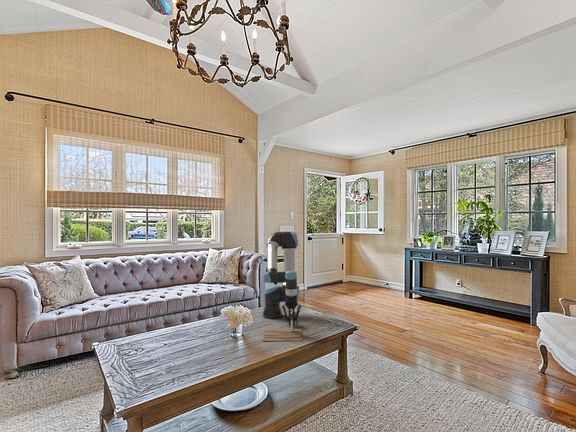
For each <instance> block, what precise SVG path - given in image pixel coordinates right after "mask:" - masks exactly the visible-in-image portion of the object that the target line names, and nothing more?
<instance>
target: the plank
mask: <svg viewBox="0 0 576 432" xmlns="http://www.w3.org/2000/svg"><path fill="white" fill-rule="evenodd" d="M276 335H302V329H301V328H293V331H291V328H290V329H289V328H287V329H264V332H263V337H264V336H276Z"/></svg>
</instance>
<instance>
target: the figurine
mask: <svg viewBox="0 0 576 432" xmlns="http://www.w3.org/2000/svg"><path fill="white" fill-rule="evenodd" d="M287 312H288V313H287V317H288V318H289V309H288V310H287ZM296 313H297V311H296V312H295V311H294V314H295V317H296ZM299 313H301V310H299ZM299 319H300V316H299V314H298V319H297V320H295V325H294V326H293V329H301V327H302V326H303V324H302V323H300V322H299ZM291 320H293V310H292V309H291ZM286 322H287V323H286V327H287V328H288V329H289V328H290V329H291V326H289V321H288V320H286Z"/></svg>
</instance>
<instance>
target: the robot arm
mask: <svg viewBox="0 0 576 432" xmlns="http://www.w3.org/2000/svg"><path fill="white" fill-rule="evenodd" d="M265 247H266V250H267V253H266V271H264V272H263V282H264V283H265V284H269V285H266V287H264V306H263V307H264V308H263V310H262V317H263V318H265V319H271V320H272V319H279V318H281V317H282V316H283V313H284V318H285V320H286V321H287V320H288V321H289V322H288V321H287V322H288V323H289V326H291V328H290V329H291V331H293V329H294V328H293V326H294V325H295V320H297V321H298V320H299V319H298V315H299V314H300V312H299V310H300V309H301V308H302V305H301V304H299V302H298V300H299V296H300V295H299V294H300V286H299V285H298V283H297V281H298V278H297V277H298V275H297V271H296V254H295V251H296V250H297V248H298V247H299V239H298V234H297V232H295V231H275V232H273V233H272V234H270V235H269V236H268V238H267V239H266V242H265ZM279 247H281V250H282V251H283V271H278V249H279ZM280 284H282V286H281V285H280ZM281 303H284V304H282V305H281ZM286 308H287V309H288V310H289V312H288V313H287V310H286ZM296 308H297V309H296ZM295 309H296V312H297V313H295V314H296V317H295V314H294V312H295ZM291 310H292V312H293V320H291V314H292V312H291ZM300 311H301V310H300ZM288 314H289V318H288V317H287V315H288Z"/></svg>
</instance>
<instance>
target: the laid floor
mask: <svg viewBox="0 0 576 432" xmlns="http://www.w3.org/2000/svg"><path fill="white" fill-rule="evenodd" d="M302 335H303V334H301V335H276V336H264V335H263V339H262V342H263V343H267V342H268V343H269V342H270V343H274V342H279V343H281V342H303V337H302Z"/></svg>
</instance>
